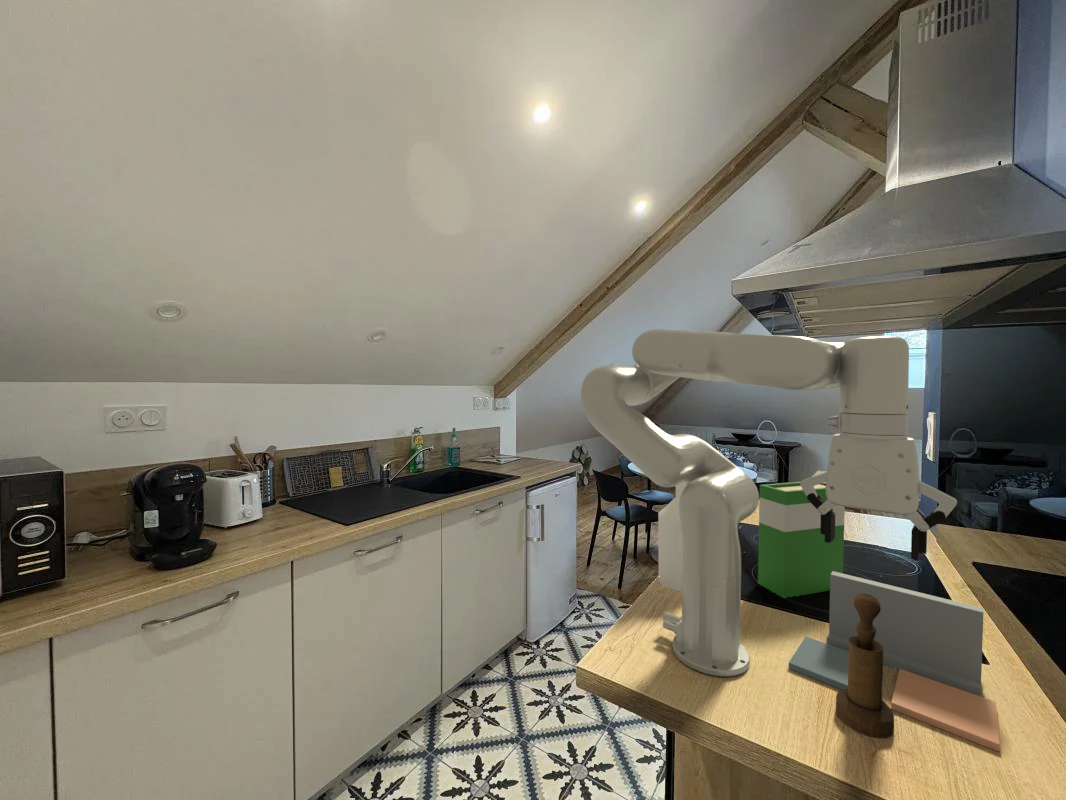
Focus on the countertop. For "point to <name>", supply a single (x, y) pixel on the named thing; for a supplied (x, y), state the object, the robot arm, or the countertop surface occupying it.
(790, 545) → the hardback book
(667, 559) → the bottle
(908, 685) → the tile terracotta
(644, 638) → the countertop surface
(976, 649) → the upright grey panel
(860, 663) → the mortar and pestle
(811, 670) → the mat bluegrey
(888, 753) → the countertop surface
